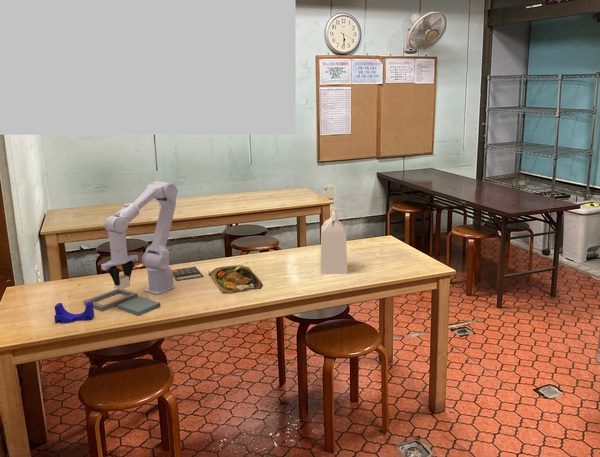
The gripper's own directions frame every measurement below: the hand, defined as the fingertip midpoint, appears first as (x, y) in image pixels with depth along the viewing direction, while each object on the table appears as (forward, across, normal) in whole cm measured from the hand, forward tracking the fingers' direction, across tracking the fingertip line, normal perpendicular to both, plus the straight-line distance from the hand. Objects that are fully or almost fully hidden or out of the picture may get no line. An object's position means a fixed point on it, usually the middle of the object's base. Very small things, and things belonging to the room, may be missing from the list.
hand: (122, 283), depth 195 cm
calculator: (+9, -37, -6) cm, 38 cm away
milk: (+9, -76, +45) cm, 89 cm away
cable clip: (+9, +19, -2) cm, 21 cm away
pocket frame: (+8, +1, -7) cm, 11 cm away
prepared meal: (+9, -42, +18) cm, 47 cm away
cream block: (+2, 0, 0) cm, 2 cm away
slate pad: (+8, -1, +8) cm, 11 cm away
